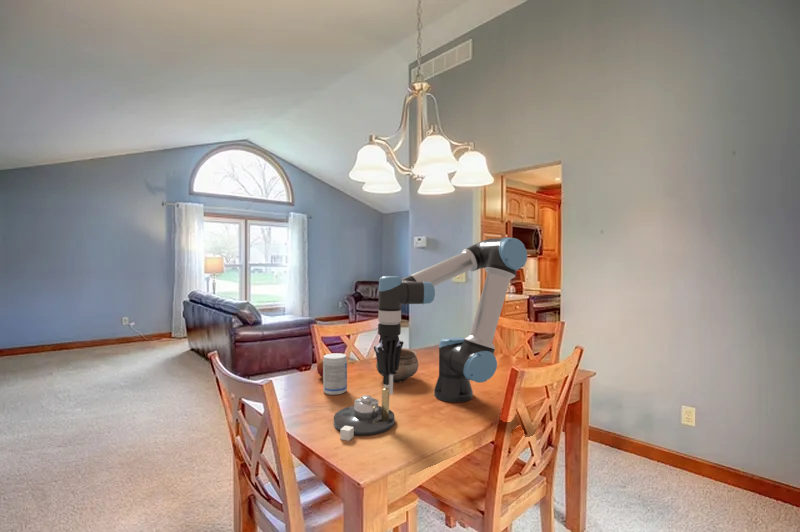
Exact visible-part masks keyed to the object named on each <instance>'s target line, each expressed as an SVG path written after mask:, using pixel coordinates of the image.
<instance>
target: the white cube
mask: <svg viewBox="0 0 800 532" xmlns="http://www.w3.org/2000/svg"><path fill="white" fill-rule="evenodd" d="M339 435H340V436H339V437H340V438H339V439H340V440H343V441H347V442H350V441H351V440H352V439H353V438H354V437H355V435H354V427H351V426H344V427H343V428H341V429H340V431H339Z"/></svg>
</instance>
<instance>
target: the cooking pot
mask: <svg viewBox="0 0 800 532" xmlns="http://www.w3.org/2000/svg"><path fill="white" fill-rule="evenodd" d="M417 354H418V353H417V351H415V350H413V349H409V348H403V347H402V349H401V355H400V362H399V368H398V370H397V371H395V372H397V373H396V374H394V382H393V383H400V382H402V383H403V382H404V381H406V380H408V379H410V378H411V377H413V376H414V375H415V374H416V373H417V372H418V370H419V360H418V357H417ZM375 366H376V367H375V368H376V370H377V372H378V373H379V371H378V364H377V361H376V364H375ZM379 374H380V375H381V377H383V374H381V373H379Z"/></svg>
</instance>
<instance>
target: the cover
mask: <svg viewBox="0 0 800 532" xmlns="http://www.w3.org/2000/svg"><path fill="white" fill-rule="evenodd" d="M353 404H354V405H353V406H354V416H355V418H357V419H361V420H370V419H374V418H376V417H378V406H379V400H378V399H377V398H374V397H372V396H371V395H362V396H360V398H356V399H355V400H354V403H353Z"/></svg>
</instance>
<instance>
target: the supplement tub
mask: <svg viewBox="0 0 800 532" xmlns="http://www.w3.org/2000/svg"><path fill="white" fill-rule="evenodd" d="M323 358H324V359H323ZM323 358H322V359H323V377H322V379H323V380H322V381H323V382H322V387H323V388H322V389H323V392H324V394H327V395H329V396H330V395H332V396H335V395H336V396H337V395H342V394H344V393H346V392H347V389H348V363H347V362H348V358H347V355H346V354H345V353H341V352H339V353H338V352H335V353H332V352H331V353H327V354H324V355H323Z"/></svg>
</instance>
